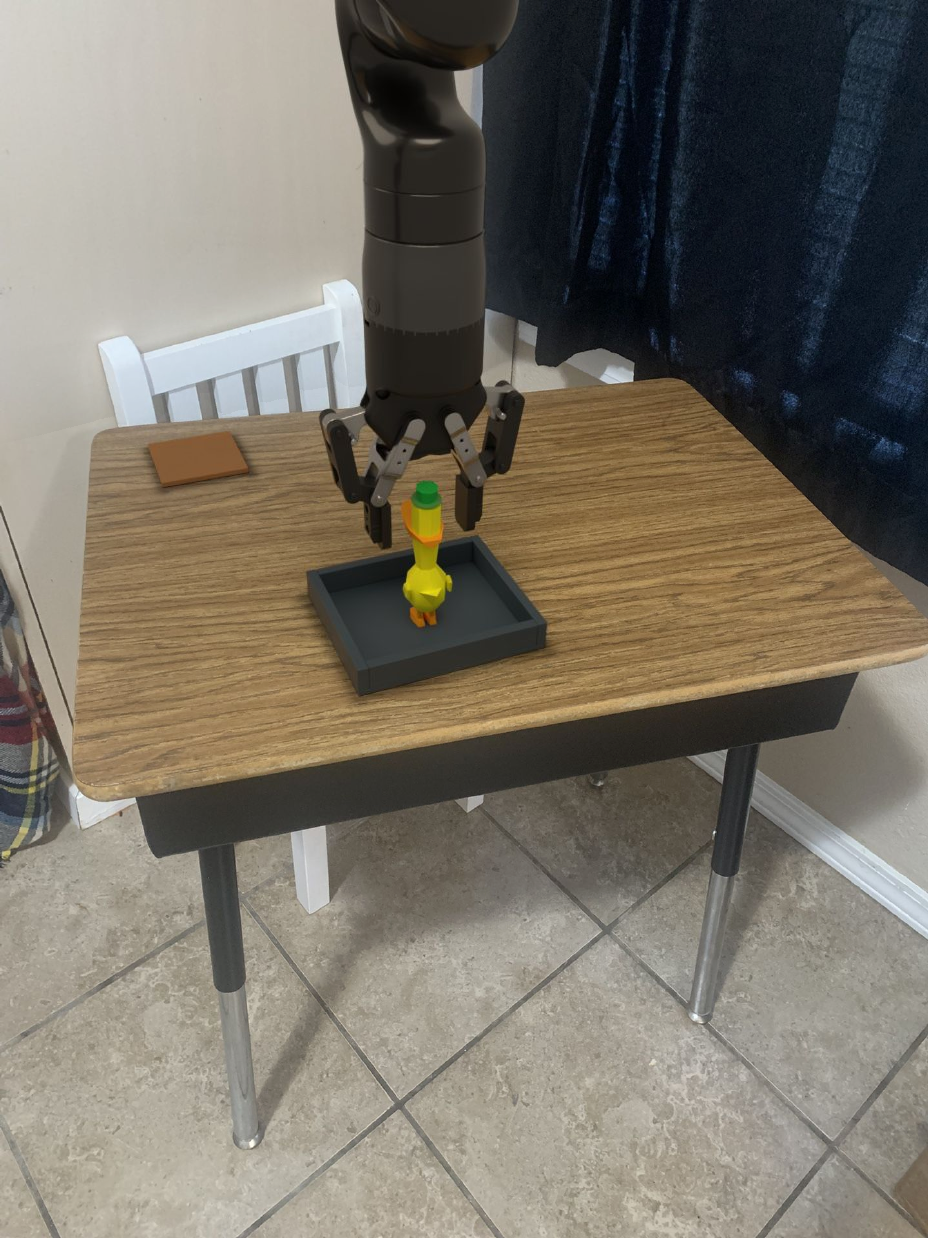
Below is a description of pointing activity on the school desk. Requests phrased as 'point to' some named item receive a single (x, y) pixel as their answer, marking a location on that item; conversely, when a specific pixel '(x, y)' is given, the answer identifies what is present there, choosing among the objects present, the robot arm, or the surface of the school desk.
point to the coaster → (197, 458)
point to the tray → (394, 645)
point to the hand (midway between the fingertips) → (423, 533)
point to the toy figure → (425, 553)
